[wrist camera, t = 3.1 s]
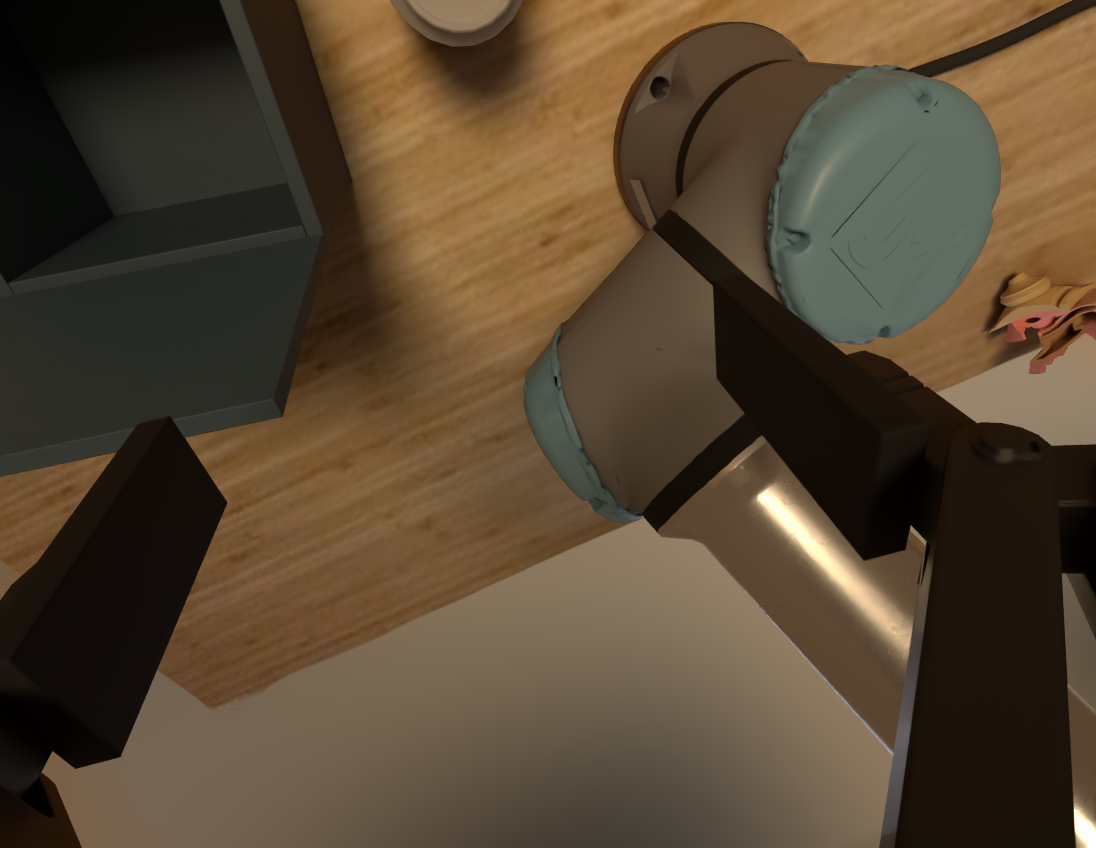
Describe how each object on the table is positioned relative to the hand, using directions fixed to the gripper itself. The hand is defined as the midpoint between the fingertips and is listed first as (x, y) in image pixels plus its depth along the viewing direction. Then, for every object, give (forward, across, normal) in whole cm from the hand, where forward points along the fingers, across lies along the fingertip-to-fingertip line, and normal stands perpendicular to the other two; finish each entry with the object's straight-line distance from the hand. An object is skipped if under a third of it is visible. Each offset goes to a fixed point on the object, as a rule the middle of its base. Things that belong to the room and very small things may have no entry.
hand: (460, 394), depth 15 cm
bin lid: (+13, +15, +1) cm, 20 cm away
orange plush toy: (+35, -51, +25) cm, 67 cm away
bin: (+35, +15, -7) cm, 38 cm away
